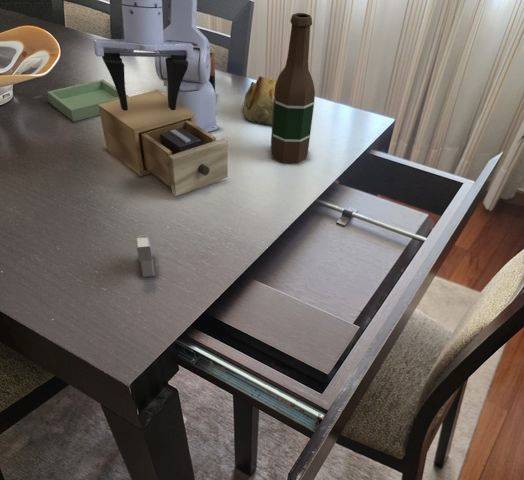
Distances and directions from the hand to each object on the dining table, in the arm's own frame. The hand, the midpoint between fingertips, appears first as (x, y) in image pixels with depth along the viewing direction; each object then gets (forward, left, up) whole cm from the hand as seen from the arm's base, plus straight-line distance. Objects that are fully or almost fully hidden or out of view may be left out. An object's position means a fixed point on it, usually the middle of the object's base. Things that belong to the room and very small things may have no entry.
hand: (148, 108), depth 78 cm
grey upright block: (+15, +21, -13) cm, 29 cm away
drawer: (-5, +2, -12) cm, 13 cm away
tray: (-6, -37, -13) cm, 40 cm away
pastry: (-36, -10, -13) cm, 40 cm away
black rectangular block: (-5, +1, -11) cm, 12 cm away
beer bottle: (-27, +6, -13) cm, 31 cm away
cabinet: (-5, -10, -13) cm, 17 cm away
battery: (-29, -27, -13) cm, 42 cm away
